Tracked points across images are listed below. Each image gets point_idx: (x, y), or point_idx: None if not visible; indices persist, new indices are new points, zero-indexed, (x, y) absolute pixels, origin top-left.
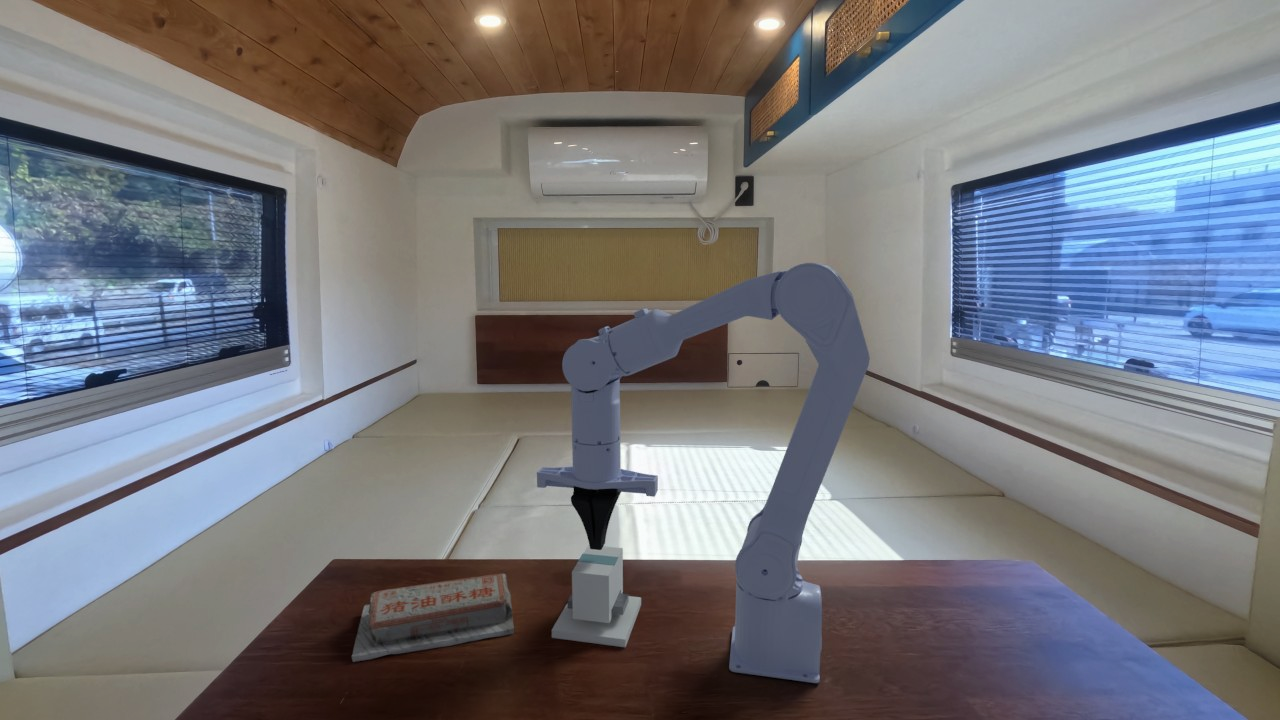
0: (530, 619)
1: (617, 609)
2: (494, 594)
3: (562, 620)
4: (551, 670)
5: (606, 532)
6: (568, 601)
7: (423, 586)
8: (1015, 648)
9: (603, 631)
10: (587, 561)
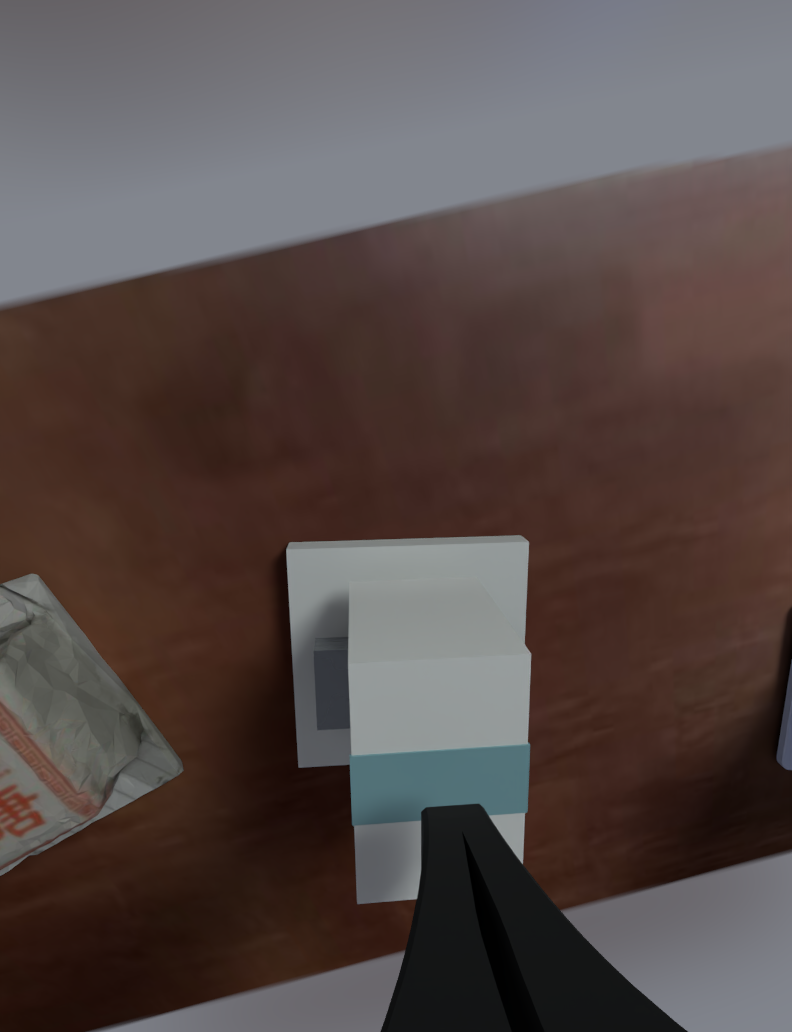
0: (198, 690)
1: None
2: (50, 811)
3: (312, 719)
4: (351, 857)
5: (505, 842)
6: (320, 727)
7: None
8: None
9: None
10: (397, 816)
